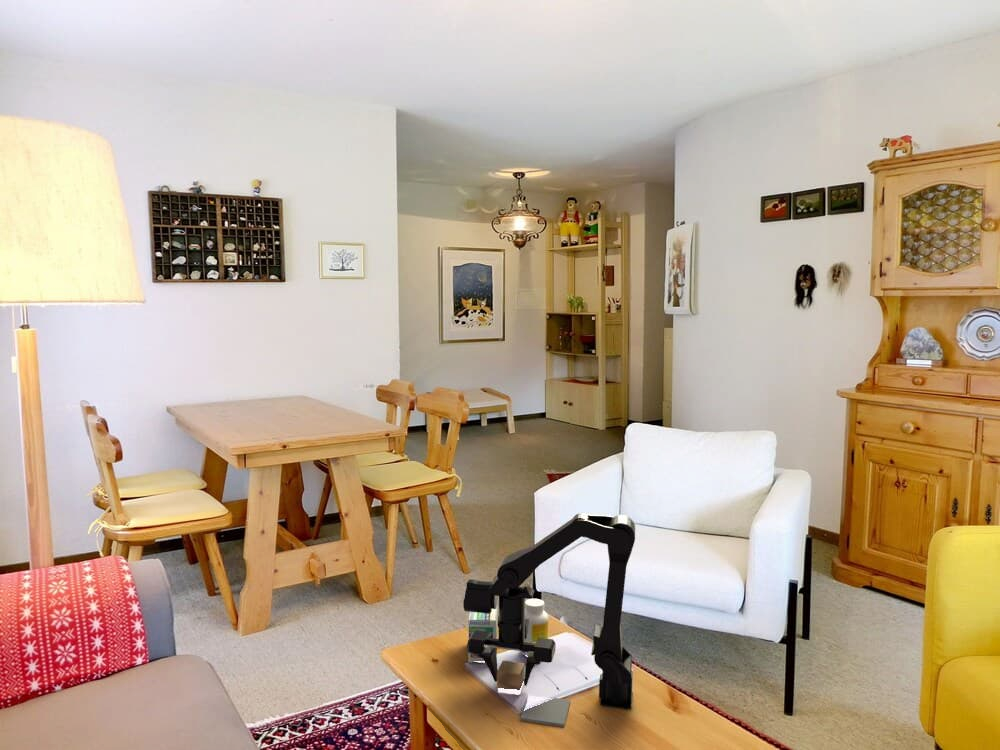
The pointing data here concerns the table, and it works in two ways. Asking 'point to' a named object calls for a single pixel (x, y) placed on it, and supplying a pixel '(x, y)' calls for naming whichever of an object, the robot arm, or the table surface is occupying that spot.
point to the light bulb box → (482, 627)
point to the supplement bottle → (536, 621)
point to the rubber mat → (548, 712)
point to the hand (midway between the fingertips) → (510, 683)
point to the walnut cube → (510, 675)
